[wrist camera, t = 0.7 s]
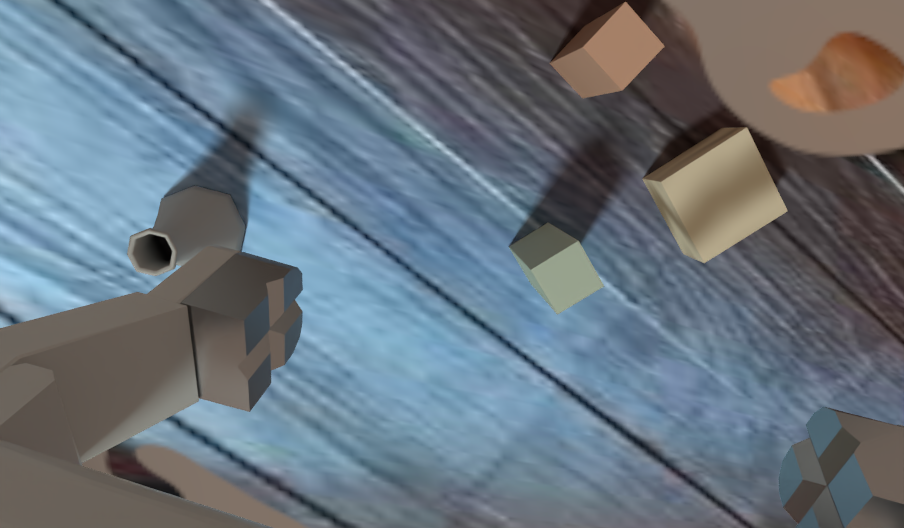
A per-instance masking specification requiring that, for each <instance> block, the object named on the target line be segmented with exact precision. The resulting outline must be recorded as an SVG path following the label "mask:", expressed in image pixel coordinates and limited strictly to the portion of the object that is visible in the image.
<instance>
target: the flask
mask: <svg viewBox="0 0 904 528" xmlns="http://www.w3.org/2000/svg"><path fill="white" fill-rule="evenodd" d="M245 228H246V227H245V224H244V222H243V220H242V218H241V216H240V214H239V212H238V210H237V208H236V206H235V204H234V202H233V200H232V197H231V195H229V194H225V193H221V192H218V191H214V190H210V189H206V188H202V187H198V186H192V187H189V188H187V189H184V190H182V191H179V192H177V193H174V194H172V195H169V196H167V197H164V198H162V199H161V202H160V207H159V212H158V216H157V219H156V222H155V225H154V227H153V228H152V229H151V228H149V229H146V230H144V231H141V232H139V233H136V234H134V235H131V236H130V241H129V247H128V253H127V255H128V257H129V259H130V260H131V262H132V264H133V266H134V268H135V270H136V271H137V272H141V273H145V274H149V275H154V276H157V275H160V274H162V273H165V272H167V271H170V270H172V269H175V267H176V265H179V266H183V265H184V264H185V263H187V262H188V261H189V260H190V259H192V258H193V257H194V256H195V255H197V254H198V253H199V252H200V251H202V250H203V249H204V248H205V247H207V246H210V245H219V246H222V247H226V248H230V249H234V250H237V251H241V247H242V242H243V237H244V232H245Z"/></svg>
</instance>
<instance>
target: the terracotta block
mask: <svg viewBox="0 0 904 528" xmlns="http://www.w3.org/2000/svg"><path fill="white" fill-rule="evenodd" d="M663 47H664V45H663V44H662V43H661V42H660V40H659V39H658V38H657V37H656V36H655V35H654V33H653V32H652V31H651V30H650V29H649V28H648V27H647V25H646V24H645V23H644V22H643V21H642V20H641V19H640V17H639V16H638V15H637V14H636V13H635V12H634V11H633V9H632V8H631V7H630V6H629V5H628V4H627V3H626V2H624V3H623V4H621V5H619V6H617V7H616V8H614V9H612V10H611V11H609V12H607V13H606V14H604V15H602V16H601V17H599V18H597V19H596V20H594V21H592V22H590V23H589V24H587V25H585V26H584V27H583V28H582V29H581V30H580V31H579V32H578V33H577V34H576V36H575V37H574V38H573V39H572V40H571V41H570V42H569V43H568V44H567V45H566V46H565V47H564V48H563V49H562V51H561V52H560V53H559V54H558V55H557V56H556V57H555V58H554V59H553V60H552V61H551V62H550V64H551V65H552V66H553V67H554V68H555V70H556V71H557V72H558V73H559V74H560V75H561V76H562V77H563V78H564V79H565V80H566V81H567V82H568V83H569V84H570V86H571V87H572V88H573V89H574V90H575V91H576V92H577V93H578V94H579V95H580V96H581V97H582V98H587V97H592V96H597V95H602V94H607V93H612V92H617V91H622V90H623V89H624V88H625V87H626V86H627V85H628V84H629V83H630V82H631V81H632V80H633V79H634V78H635V77H636V76H637V75H638V73H639V72H640V71H641V70H642V69H643V68H644V67H645V66H646V65H647V64H648V63H649V62H650V61H651V60H652V59H653V58H654V57H655V56H656V55H657V54H658V53H659V52H660V51H661V49H662V48H663Z"/></svg>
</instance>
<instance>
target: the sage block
mask: <svg viewBox="0 0 904 528" xmlns="http://www.w3.org/2000/svg"><path fill="white" fill-rule="evenodd" d="M509 248H510V250H511V251H512V253H513V255H514V256H515V258H516V260H517V262H518V263H519V265H520V267H521V268H522V270H523V272H524V273H525V275H526V277H527V278H528V280H529V282H530V283H531V285H532V286H533V287H534V288H535V289H536V290H537V292H538V293H539V294H540V295H541V296H542V297H543V299H544V300H545V301H546V302H547V303H548V304H549V306H550V307H551V308H552V309H553V310H554V311H555V312H556V314H559V313H561V312H562V311H564V310H566V309H567V308H569V307H571V306H572V305H574V304H575V303H577V302H579V301H580V300H582V299H584V298H585V297H587V296H589V295H590V294H592V293H594V292H595V291H597V290H599V289H600V288H602V287H604V285H603V283H602V282H601V280H600V278H599V276H598V274H597V273H596V271H595V269H594V267H593V266H592V264H591V262H590V260H589V258H588V257H587V255H586V253H585V251H584V250H583V248H582V246H581V244H580V242H579V241H578V240H576V239H575V238H573V237H571V236H570V235H568V234H566V233H565V232H563V231H561V230H560V229H558V228H556V227H555V226H553V225H551V224H550V223H546V224H545V225H543V226H541V227H540V228H538V229H537V230H535V231H533V232H532V233H530V234H528V235H527V236H525V237H524V238H522V239H520V240H519V241H517V242H515V243H514V244H512V245H511V246H509Z"/></svg>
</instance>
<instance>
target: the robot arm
mask: <svg viewBox="0 0 904 528" xmlns="http://www.w3.org/2000/svg"><path fill="white" fill-rule="evenodd" d="M302 290H303V287H302V273H301V271H300V270H299V269H298V268H297V267H294V266H290V265H287V264H283V263H280V262H276V261H273V260H269V259H266V258H262V257H259V256H255V255H252V254H248V253H245V252H240V251H237V250H234V249H230V248H226V247H222V246H219V245H210V246H207V247H205V248H204V249H203V250H202V251H200V252H199V253H198V254H197V255H195V256H194V257H193V258H192V259H190V260H189V261H188V262H187V263H185V264H184V265H183V266H181V267H180V268H179V269H178V270H176V271H175V272H174V273H173V274H171V275H170V276H169V277H168V278H166V279H165V280H164V281H163V282H161V283H160V284H159V285H158V286H156V287H155V288H154V289H153V290H151V291H150V292H149V293H148V294H143V293H139V292H136V293H132V294H128V295H124V296H121V297H117V298H113V299H109V300H105V301H102V302H98V303H94V304H90V305H87V306H83V307H79V308H75V309H72V310H68V311H64V312H60V313H56V314H53V315H49V316H45V317H41V318H38V319H34V320H30V321H26V322H23V323H19V324H15V325H11V326H7V327H4V328H0V528H272V527H269V526H266V525H263V524H260V523H257V522H253V521H251V520H248V519H244V518H241V517H238V516H235V515H232V514H229V513H226V512H223V511H220V510H216V509H214V508H211V507H207V506H204V505H201V504H198V503H195V502H192V501H189V500H186V499H183V498H180V497H177V496H174V495H170V494H167V493H164V492H161V491H158V490H155V489H152V488H149V487H146V486H143V485H140V484H137V483H134V482H130V481H127V480H124V479H121V478H118V477H115V476H112V475H109V474H106V473H103V472H100V471H96V470H93V469H90V468H87V467H84V466H82V463H83V462H85V461H87V460H89V459H91V458H93V457H94V456H97V455H98V454H100V453H102V452H104V451H106V450H108V449H110V448H112V447H113V446H115V445H117V444H119V443H121V442H123V441H125V440H127V439H129V438H130V437H132V436H134V435H136V434H138V433H140V432H142V431H144V430H145V429H147V428H149V427H151V426H153V425H155V424H157V423H159V422H161V421H162V420H164V419H166V418H168V417H170V416H172V415H174V414H176V413H177V412H179V411H181V410H183V409H185V408H187V407H189V406H191V405H193V404H194V403H196V402H198V401H199V398H200V399H204V400H208V401H211V402H215V403H219V404H223V405H226V406H230V407H234V408H237V409H241V410H245V411H249V412H250V411H251V409H252V408H253V407H254V405H255V404H256V403H257V401H258V400H259V399H260V397H261V396H262V395H263V393H264V392H265V391H266V389H267V388H268V387H269V385H270V384H271V370H273V369H276V368H278V367H281V366H283V365H285V364H286V362H287V361H288V359H289V358H290V357H291V355H292V354H293V352H294V349H295V347H296V345H297V342H298V340H299V337H300V333H301V327H302V310H301V309H300V307H299V306H298V304H297V303H296V301H295V299H296V297H297V296H298V295H299V294H300V293H301V291H302ZM806 427H807V431H808V434H809V437H810V438H808V439H806V440H803V441H801V442H799V443H796V444H794V445H792V446H791V448H790V449H789V451H788V452H787V454H786V456H785V457H784V459H783V461H782V465H781V469H780V474H779V494H780V497H781V501H782V505H783V508H784V509H785V510H786V511H787V512H788V513H789V514H790V516H791V517H792V518H793V519H794V520H795V521H796V522H797V523H798V525H797V526H796V528H904V426H902V425H893V424H889V423H885V422H881V421H877V420H873V419H869V418H866V417H862V416H858V415H854V414H850V413H846V412H842V411H838V410H835V409H831V408H827V407H822V408H821V409H819V410H818V411H816V412H815V413H814V414H813V415H812V417H811V418H810V420H809V421H808V422H807V424H806Z"/></svg>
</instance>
